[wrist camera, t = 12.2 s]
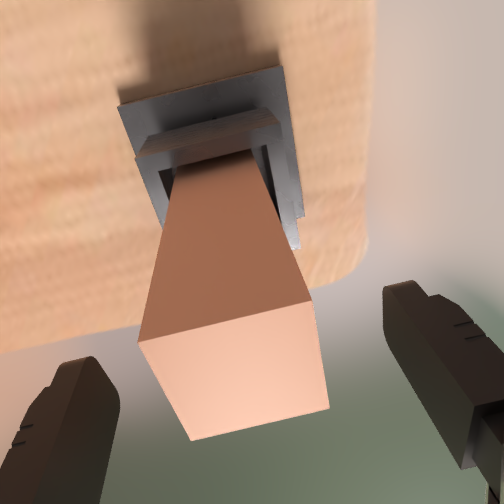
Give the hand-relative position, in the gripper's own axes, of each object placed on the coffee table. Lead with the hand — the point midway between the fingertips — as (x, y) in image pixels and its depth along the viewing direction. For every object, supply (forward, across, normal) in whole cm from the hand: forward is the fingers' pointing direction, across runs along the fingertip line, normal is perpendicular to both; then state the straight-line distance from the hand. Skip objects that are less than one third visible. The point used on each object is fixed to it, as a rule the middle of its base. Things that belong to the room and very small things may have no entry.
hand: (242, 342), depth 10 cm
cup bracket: (+17, 0, 0) cm, 17 cm away
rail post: (+13, 0, 0) cm, 13 cm away
